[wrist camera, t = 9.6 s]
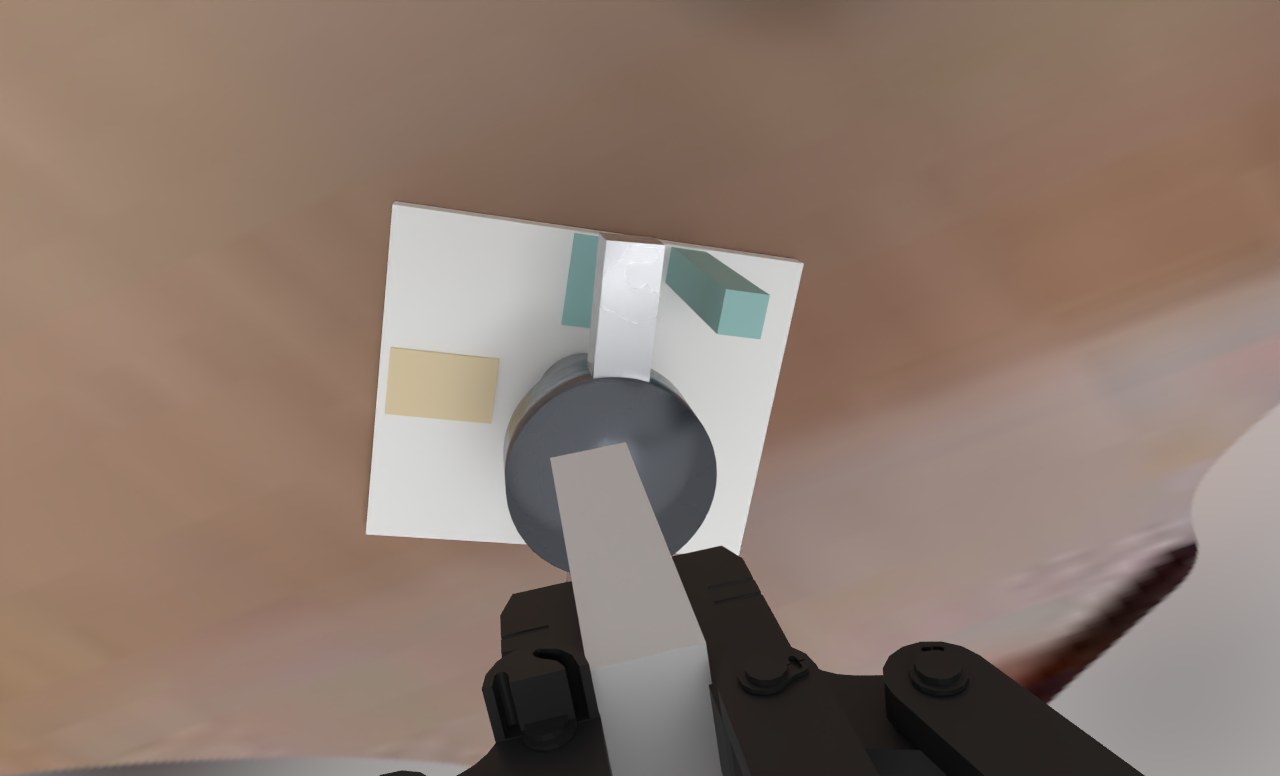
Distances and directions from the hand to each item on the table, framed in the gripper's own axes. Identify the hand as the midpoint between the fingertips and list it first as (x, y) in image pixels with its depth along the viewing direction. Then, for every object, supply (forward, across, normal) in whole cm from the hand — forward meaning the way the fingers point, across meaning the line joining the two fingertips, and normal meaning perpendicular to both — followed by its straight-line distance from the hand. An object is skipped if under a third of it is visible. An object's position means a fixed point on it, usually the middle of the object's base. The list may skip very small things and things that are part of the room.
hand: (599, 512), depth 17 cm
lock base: (+23, +1, -6) cm, 23 cm away
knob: (+15, +1, -4) cm, 16 cm away
